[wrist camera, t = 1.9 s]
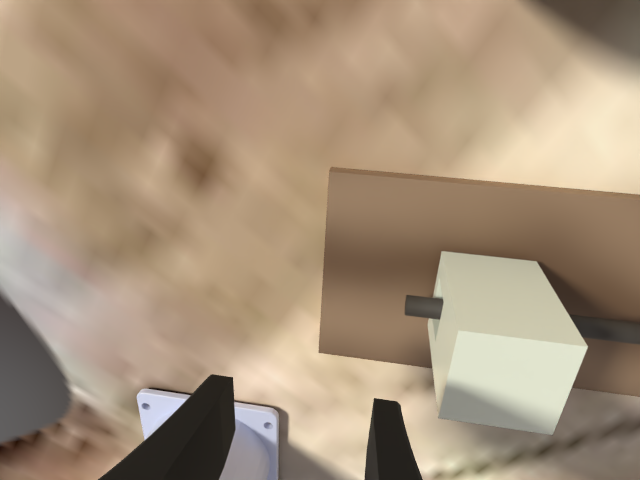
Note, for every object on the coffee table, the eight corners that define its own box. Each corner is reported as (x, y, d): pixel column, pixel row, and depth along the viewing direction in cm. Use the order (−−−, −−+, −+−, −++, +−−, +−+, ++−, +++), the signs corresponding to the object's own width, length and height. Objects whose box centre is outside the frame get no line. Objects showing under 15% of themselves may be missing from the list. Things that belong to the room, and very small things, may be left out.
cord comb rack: (768, 405, 20) (930, 569, 14) (320, 344, 22) (293, 463, 16) (897, 218, 16) (1202, 336, 10) (331, 167, 18) (300, 238, 12)
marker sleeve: (514, 335, 19) (552, 435, 14) (427, 324, 19) (438, 418, 15) (536, 261, 17) (587, 346, 13) (441, 251, 18) (458, 330, 13)
